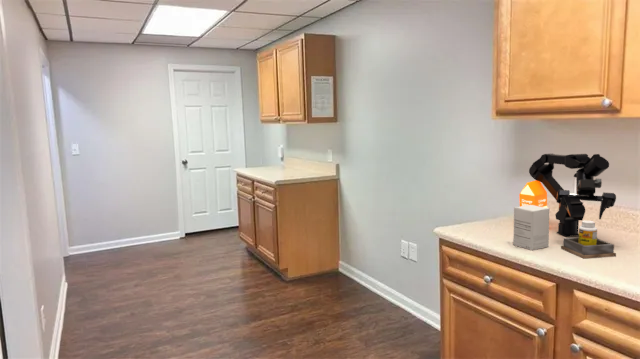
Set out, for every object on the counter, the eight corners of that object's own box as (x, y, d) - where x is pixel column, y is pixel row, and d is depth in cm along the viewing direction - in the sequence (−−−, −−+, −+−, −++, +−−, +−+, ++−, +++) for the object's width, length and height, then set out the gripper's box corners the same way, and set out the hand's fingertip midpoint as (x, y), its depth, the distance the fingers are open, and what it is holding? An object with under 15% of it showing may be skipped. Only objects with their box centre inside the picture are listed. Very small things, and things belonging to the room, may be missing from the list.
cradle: (591, 246, 165) (591, 236, 165) (615, 256, 153) (616, 245, 153) (561, 248, 164) (561, 238, 163) (583, 258, 152) (584, 247, 151)
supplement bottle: (574, 248, 160) (575, 220, 159) (585, 246, 162) (586, 219, 161) (589, 252, 155) (590, 224, 154) (600, 250, 157) (601, 222, 156)
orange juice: (519, 225, 201) (518, 182, 197) (532, 221, 205) (531, 178, 202) (535, 228, 194) (534, 183, 191) (548, 224, 198) (547, 180, 195)
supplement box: (529, 241, 174) (530, 204, 172) (549, 247, 166) (550, 208, 164) (512, 244, 171) (513, 206, 169) (531, 250, 163) (533, 210, 161)
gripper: (559, 169, 167) (558, 204, 160) (618, 171, 160) (620, 208, 152) (556, 185, 176) (555, 219, 168) (612, 188, 168) (614, 224, 160)
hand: (585, 217), depth 162 cm, fingers open, 9 cm apart
